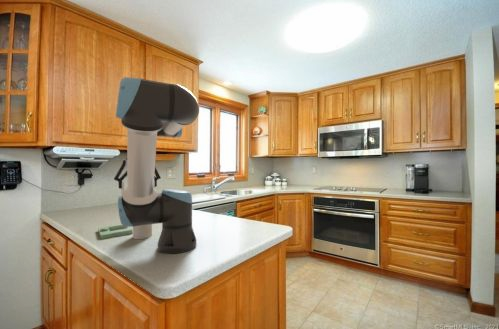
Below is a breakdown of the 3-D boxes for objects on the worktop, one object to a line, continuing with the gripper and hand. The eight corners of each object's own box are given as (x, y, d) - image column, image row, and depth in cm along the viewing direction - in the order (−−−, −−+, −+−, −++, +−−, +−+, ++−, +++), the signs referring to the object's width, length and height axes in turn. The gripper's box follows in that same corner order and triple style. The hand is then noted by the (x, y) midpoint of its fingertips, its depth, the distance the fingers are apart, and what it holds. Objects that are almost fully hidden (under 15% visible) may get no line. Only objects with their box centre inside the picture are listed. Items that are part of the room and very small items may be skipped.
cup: (144, 239, 102) (144, 212, 102) (128, 238, 104) (128, 212, 104) (155, 234, 110) (155, 209, 110) (140, 233, 112) (140, 208, 112)
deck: (132, 233, 111) (132, 228, 111) (101, 239, 103) (101, 233, 103) (126, 226, 123) (126, 222, 123) (98, 231, 115) (98, 226, 115)
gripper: (162, 152, 121) (162, 192, 120) (107, 150, 105) (107, 196, 104) (166, 151, 115) (167, 193, 114) (109, 148, 99) (109, 197, 98)
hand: (138, 194), depth 109 cm, fingers open, 13 cm apart
